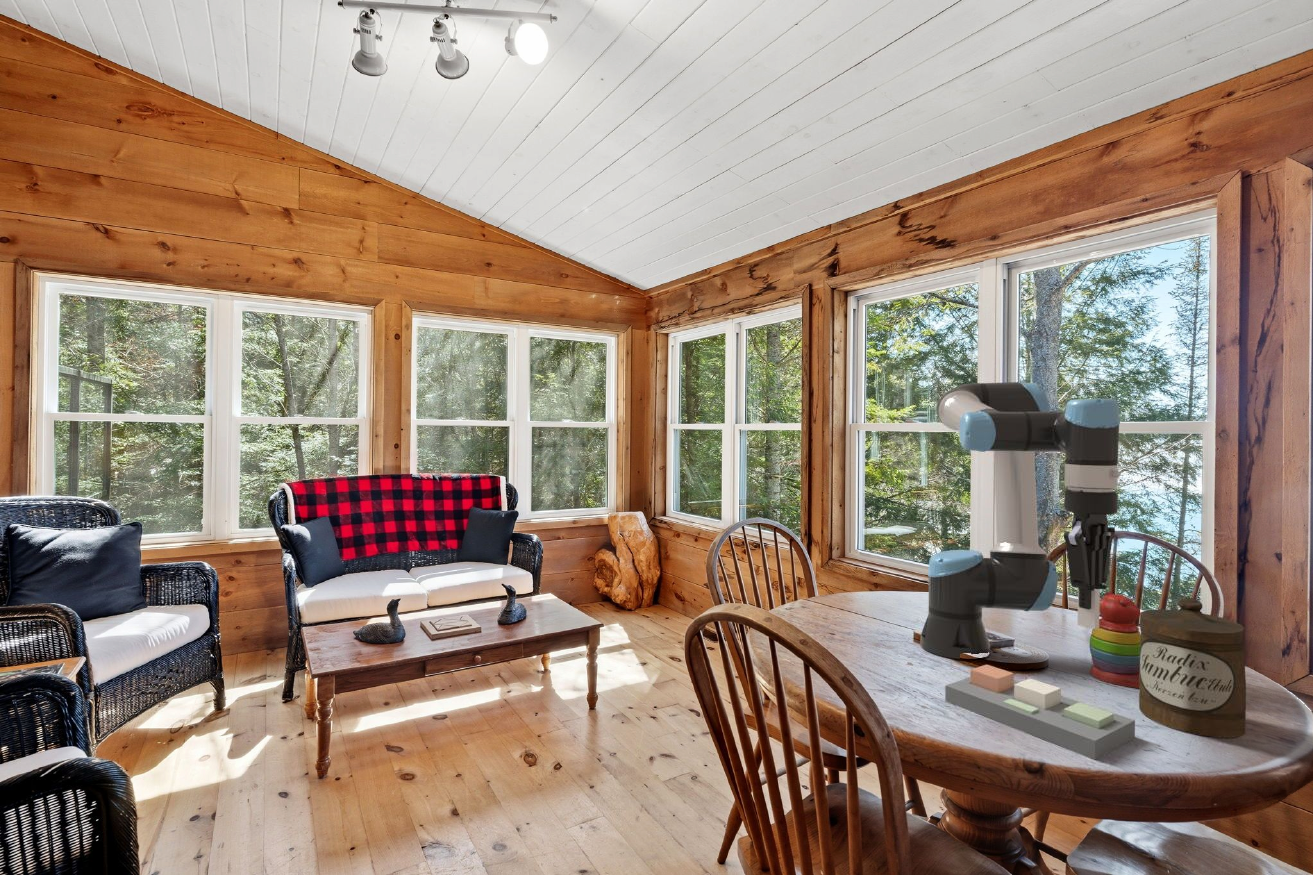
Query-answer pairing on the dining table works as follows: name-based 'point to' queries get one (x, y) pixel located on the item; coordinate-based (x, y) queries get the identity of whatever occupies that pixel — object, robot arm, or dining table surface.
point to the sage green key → (1089, 715)
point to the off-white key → (1037, 694)
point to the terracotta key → (992, 678)
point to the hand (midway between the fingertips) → (1088, 626)
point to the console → (1042, 719)
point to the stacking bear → (1116, 642)
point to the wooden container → (1193, 671)
